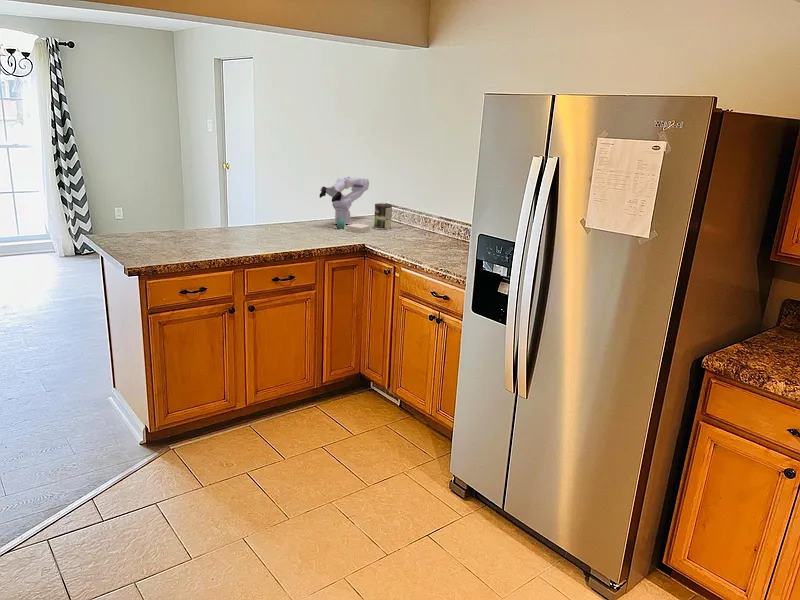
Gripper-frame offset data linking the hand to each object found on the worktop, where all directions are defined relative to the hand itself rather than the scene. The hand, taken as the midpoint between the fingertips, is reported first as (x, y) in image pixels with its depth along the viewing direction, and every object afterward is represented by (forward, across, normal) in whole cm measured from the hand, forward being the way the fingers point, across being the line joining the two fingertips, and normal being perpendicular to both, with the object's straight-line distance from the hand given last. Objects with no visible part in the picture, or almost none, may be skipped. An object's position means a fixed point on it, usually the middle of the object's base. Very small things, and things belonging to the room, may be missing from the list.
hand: (326, 198), depth 347 cm
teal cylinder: (-1, +11, +17) cm, 20 cm away
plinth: (-2, +22, +14) cm, 26 cm away
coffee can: (-18, +31, +18) cm, 40 cm away
